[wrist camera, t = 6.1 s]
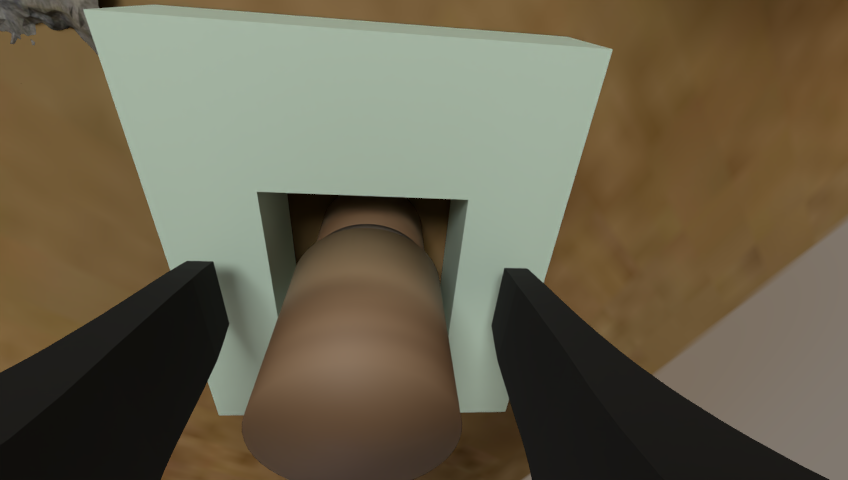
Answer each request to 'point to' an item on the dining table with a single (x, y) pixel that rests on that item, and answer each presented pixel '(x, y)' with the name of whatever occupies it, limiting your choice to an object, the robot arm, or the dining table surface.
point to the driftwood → (46, 17)
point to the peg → (358, 355)
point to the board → (347, 152)
